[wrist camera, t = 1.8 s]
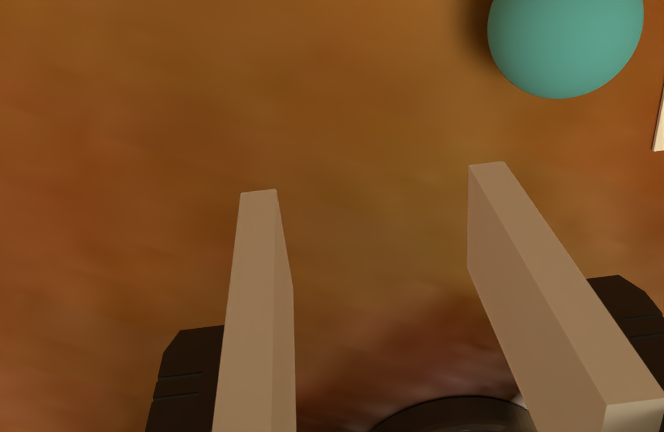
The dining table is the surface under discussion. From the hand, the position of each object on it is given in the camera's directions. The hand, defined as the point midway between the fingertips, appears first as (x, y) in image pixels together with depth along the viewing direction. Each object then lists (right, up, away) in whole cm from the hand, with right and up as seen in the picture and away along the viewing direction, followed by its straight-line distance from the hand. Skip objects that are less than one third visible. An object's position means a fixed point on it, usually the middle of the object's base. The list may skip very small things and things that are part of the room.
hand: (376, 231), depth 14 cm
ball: (+8, +8, +12) cm, 17 cm away
